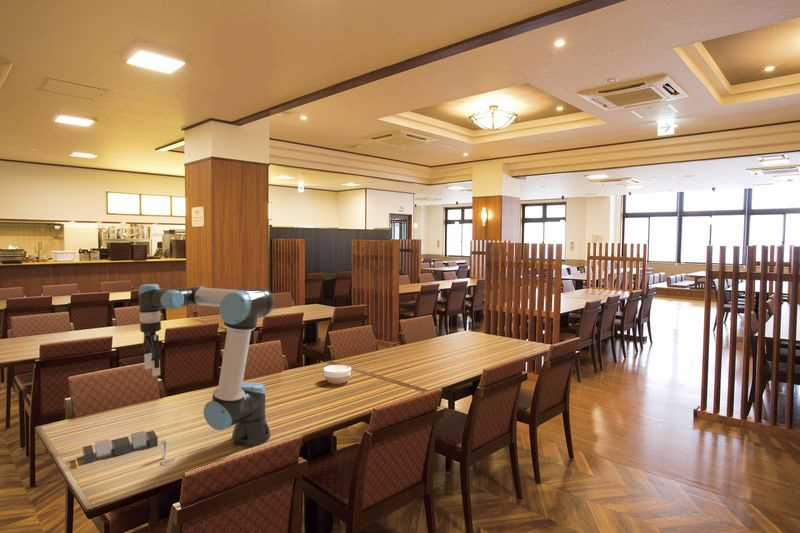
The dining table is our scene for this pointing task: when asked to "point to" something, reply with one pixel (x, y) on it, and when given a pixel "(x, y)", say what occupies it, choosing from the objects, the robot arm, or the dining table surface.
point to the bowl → (337, 373)
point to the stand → (165, 454)
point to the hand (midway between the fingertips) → (152, 372)
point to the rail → (120, 447)
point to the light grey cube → (138, 440)
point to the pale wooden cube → (102, 448)
